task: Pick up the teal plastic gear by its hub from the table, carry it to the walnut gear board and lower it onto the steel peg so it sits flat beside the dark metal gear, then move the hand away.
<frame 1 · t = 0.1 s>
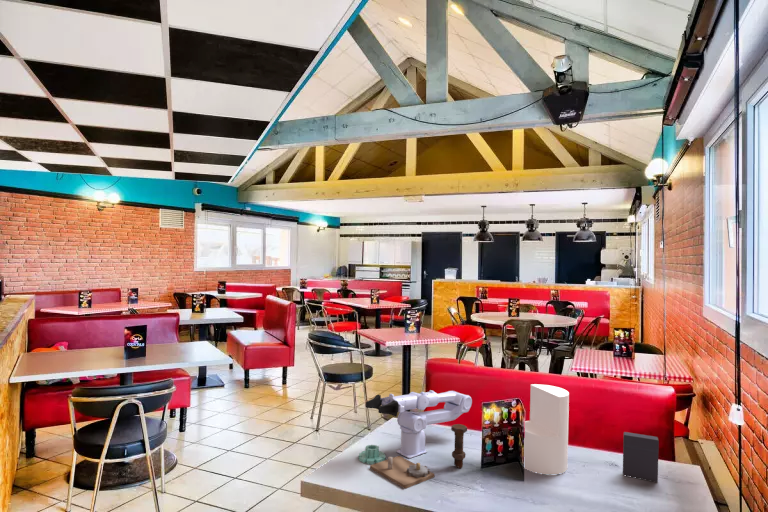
hand: (372, 407, 178), 22 cm above the table, tool horizontal, fingers open, 7 cm apart
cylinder: (542, 465, 182), on the table
teal gear: (372, 458, 185), on the table
gear board: (401, 472, 173), on the table
bolt: (458, 467, 179), on the table
calculator: (639, 477, 173), on the table
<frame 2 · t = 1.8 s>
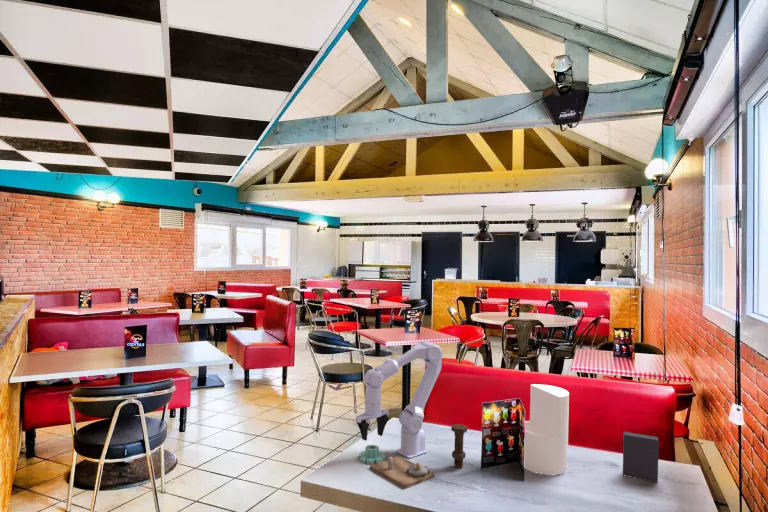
hand: (372, 437, 185), 8 cm above the table, tool pointing down, fingers open, 7 cm apart
nothing on the table moved.
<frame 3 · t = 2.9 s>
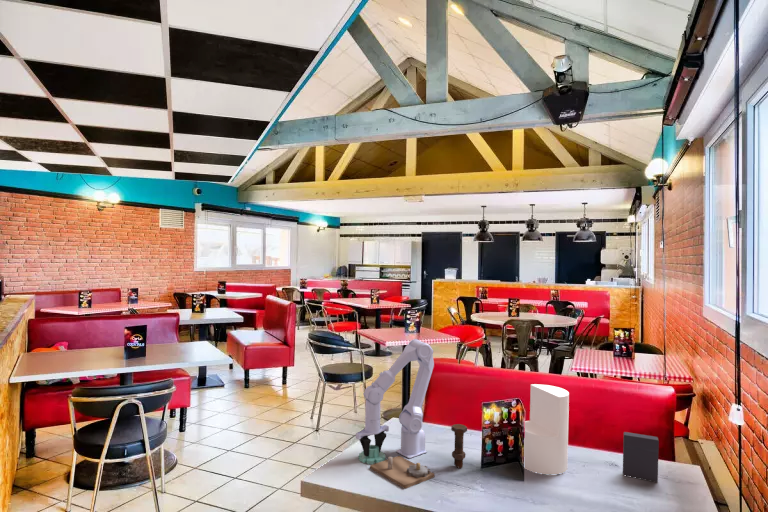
hand: (372, 453, 185), 2 cm above the table, tool pointing down, fingers closed on teal gear, 5 cm apart
teal gear: (372, 458, 185), on the table, touching gripper
everything else where it was.
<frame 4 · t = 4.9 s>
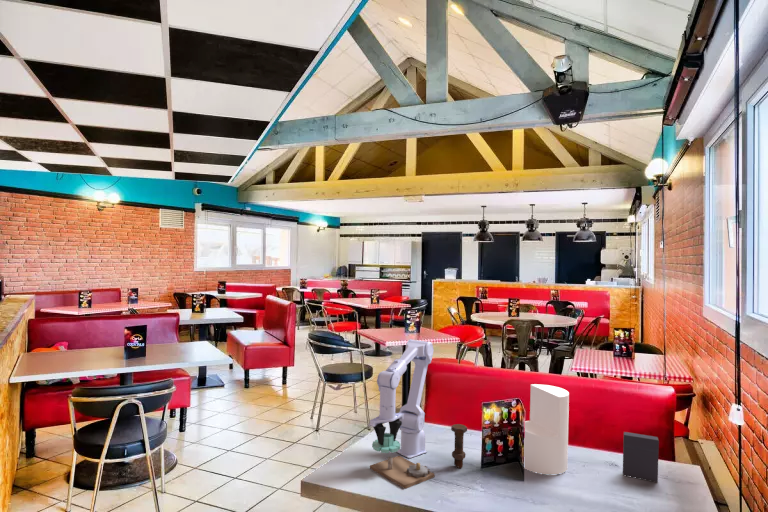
hand: (386, 442, 176), 10 cm above the table, tool pointing down, fingers closed on teal gear, 5 cm apart
teal gear: (386, 447, 176), point 8 cm above the table, touching gripper
everything else where it was.
when the fingers open (4 cm above the table, at t = 6.9 s): teal gear drops 1 cm, resting on gear board.
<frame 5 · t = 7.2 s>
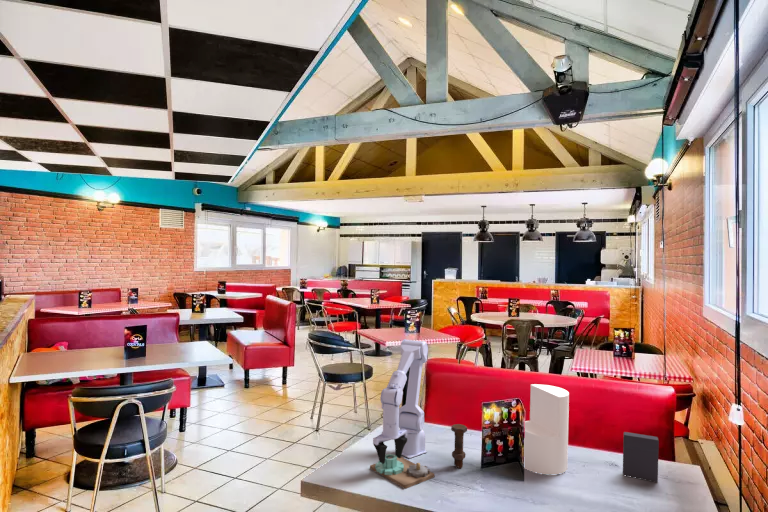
hand: (390, 459, 174), 4 cm above the table, tool pointing down, fingers open, 7 cm apart
teal gear: (389, 468, 174), point 1 cm above the table, touching gear board
everything else where it was.
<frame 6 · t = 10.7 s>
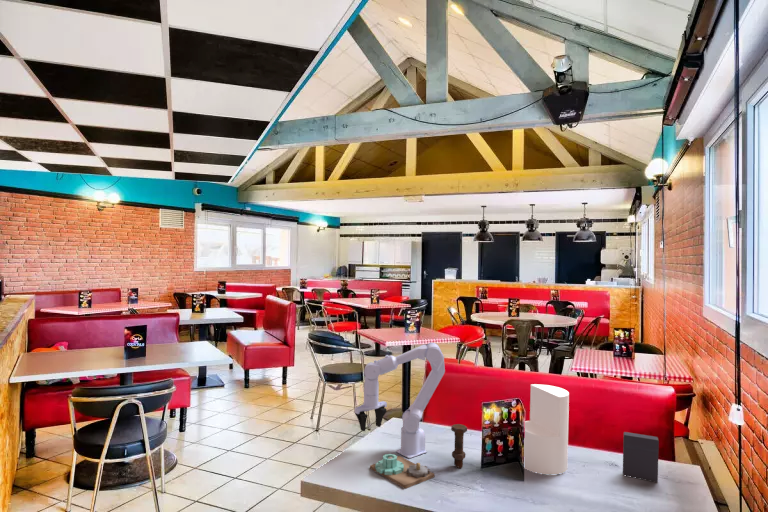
hand: (370, 428, 191), 9 cm above the table, tool pointing down, fingers open, 7 cm apart
nothing on the table moved.
at the end: teal gear 0.2 cm from the target spot on the gear board, point 1.2 cm above the gear board's base; teal gear tilted 0°; the gripper is holding nothing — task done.
